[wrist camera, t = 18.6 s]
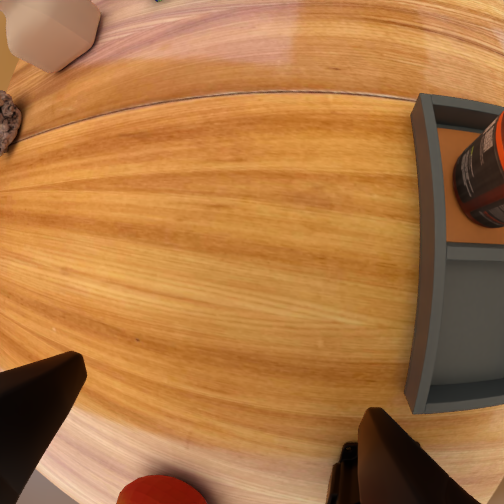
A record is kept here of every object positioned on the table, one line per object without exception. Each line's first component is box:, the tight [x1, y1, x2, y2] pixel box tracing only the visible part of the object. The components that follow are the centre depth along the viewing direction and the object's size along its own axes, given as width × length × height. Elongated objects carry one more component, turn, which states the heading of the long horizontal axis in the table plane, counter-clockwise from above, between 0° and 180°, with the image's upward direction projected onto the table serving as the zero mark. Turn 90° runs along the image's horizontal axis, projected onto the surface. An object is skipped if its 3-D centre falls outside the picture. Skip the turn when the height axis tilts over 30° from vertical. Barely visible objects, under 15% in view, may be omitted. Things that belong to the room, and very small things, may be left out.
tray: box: [404, 93, 504, 414], centre depth 15 cm, size 11×20×4 cm, turn 178°
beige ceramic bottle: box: [0, 0, 101, 73], centre depth 19 cm, size 10×10×23 cm
